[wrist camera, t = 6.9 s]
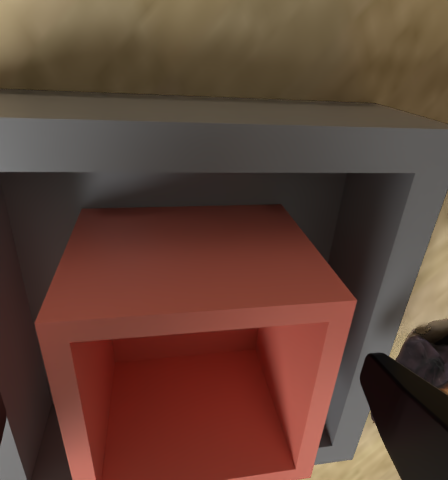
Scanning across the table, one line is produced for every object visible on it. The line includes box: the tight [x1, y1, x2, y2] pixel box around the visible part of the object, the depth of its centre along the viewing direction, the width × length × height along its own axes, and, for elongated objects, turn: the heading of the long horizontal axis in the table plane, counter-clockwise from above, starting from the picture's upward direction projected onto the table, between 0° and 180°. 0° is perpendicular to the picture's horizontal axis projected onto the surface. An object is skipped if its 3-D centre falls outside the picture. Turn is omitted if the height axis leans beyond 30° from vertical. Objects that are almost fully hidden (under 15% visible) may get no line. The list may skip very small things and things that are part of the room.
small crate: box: [35, 204, 357, 480], centre depth 10 cm, size 6×6×5 cm
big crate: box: [0, 89, 448, 480], centre depth 12 cm, size 12×12×4 cm
